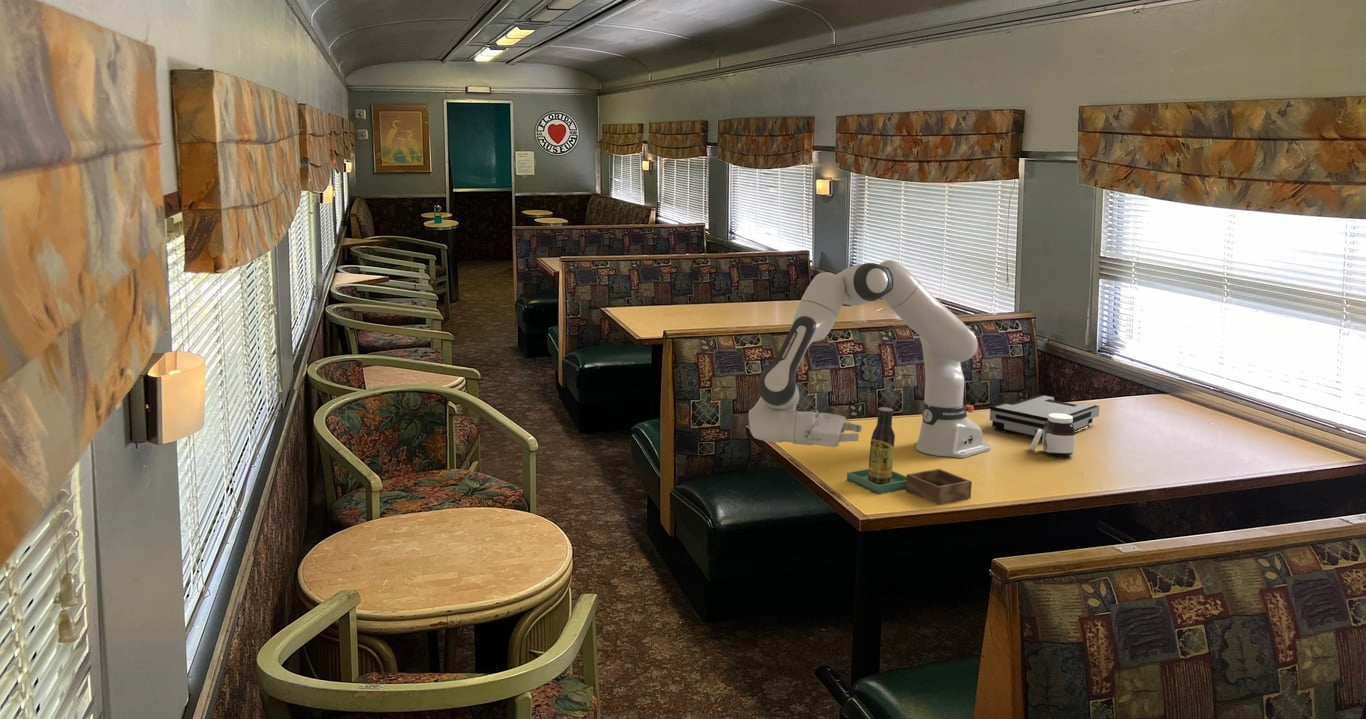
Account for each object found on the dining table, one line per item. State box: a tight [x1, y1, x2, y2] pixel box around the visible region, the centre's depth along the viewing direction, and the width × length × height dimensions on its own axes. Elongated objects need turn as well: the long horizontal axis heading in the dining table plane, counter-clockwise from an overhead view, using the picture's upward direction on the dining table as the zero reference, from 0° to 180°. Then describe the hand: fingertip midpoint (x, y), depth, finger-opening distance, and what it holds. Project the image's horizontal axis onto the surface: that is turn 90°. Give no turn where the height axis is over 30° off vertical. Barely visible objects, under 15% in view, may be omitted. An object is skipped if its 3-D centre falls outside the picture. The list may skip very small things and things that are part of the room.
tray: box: [846, 468, 907, 495], centre depth 285 cm, size 12×13×2 cm
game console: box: [989, 394, 1101, 441], centre depth 343 cm, size 21×32×8 cm, turn 134°
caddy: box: [905, 468, 973, 506], centre depth 277 cm, size 11×12×4 cm
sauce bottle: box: [867, 406, 896, 484], centre depth 283 cm, size 6×6×20 cm
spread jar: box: [1029, 413, 1076, 458], centre depth 315 cm, size 12×11×12 cm
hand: (859, 432), depth 284 cm, fingers open, 8 cm apart
